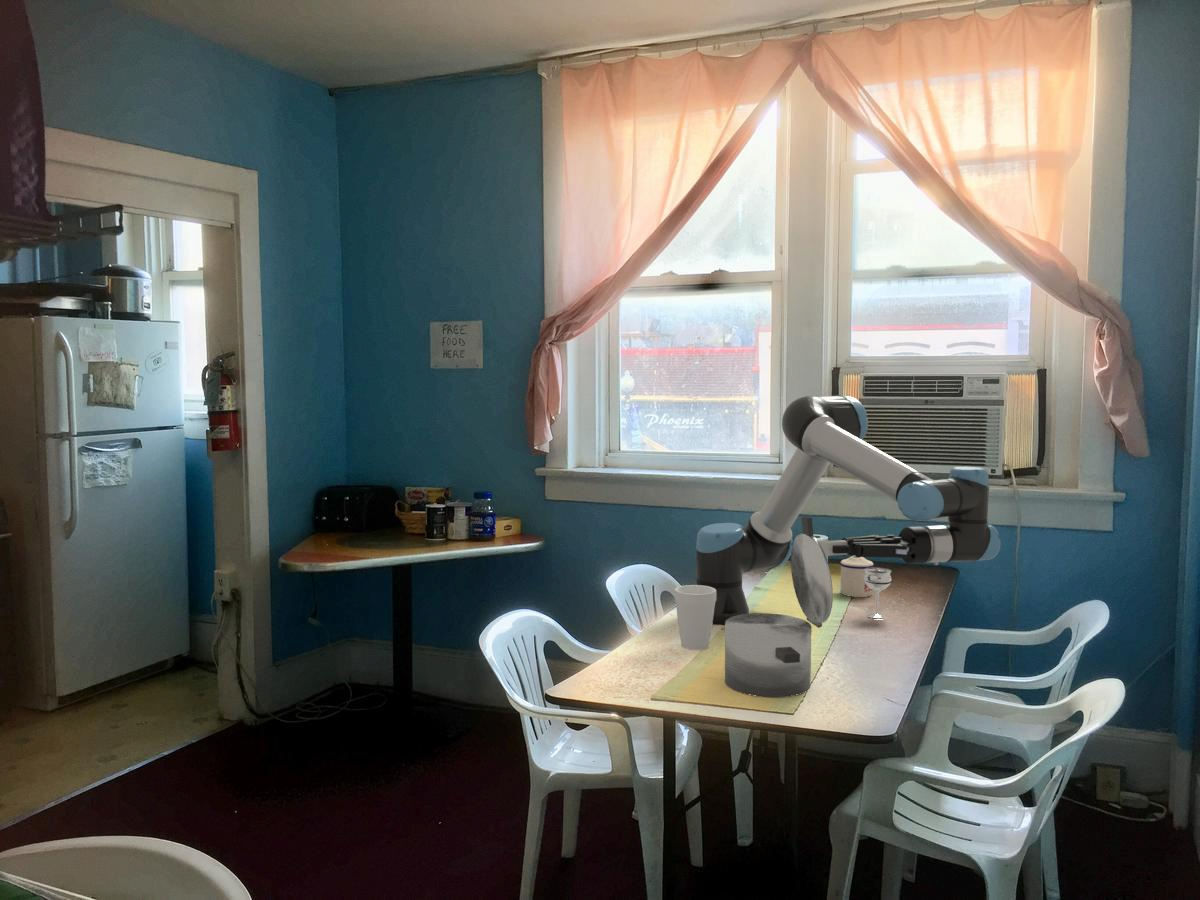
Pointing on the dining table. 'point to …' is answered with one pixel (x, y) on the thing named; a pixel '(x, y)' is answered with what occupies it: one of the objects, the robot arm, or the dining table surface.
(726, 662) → the cooker pot
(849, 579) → the teacup with lid
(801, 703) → the dining table surface
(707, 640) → the foam cup
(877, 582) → the wineglass
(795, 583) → the cooker lid
